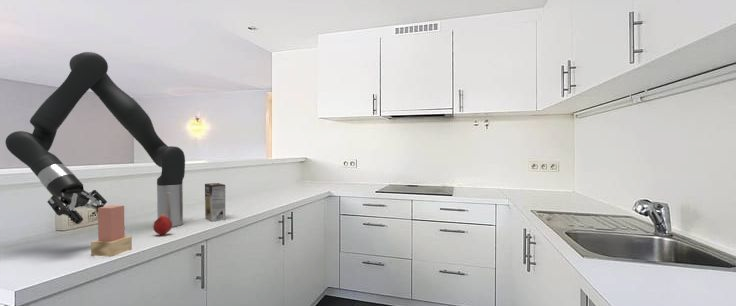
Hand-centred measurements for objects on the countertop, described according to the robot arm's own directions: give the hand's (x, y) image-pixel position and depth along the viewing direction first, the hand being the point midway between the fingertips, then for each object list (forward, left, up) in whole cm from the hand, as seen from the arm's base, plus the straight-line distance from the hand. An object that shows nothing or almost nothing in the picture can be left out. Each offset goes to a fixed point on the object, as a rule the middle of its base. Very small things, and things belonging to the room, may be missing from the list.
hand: (93, 219), depth 102 cm
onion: (-9, +20, -11) cm, 24 cm away
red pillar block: (+4, +4, -6) cm, 9 cm away
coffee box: (-26, +44, -11) cm, 52 cm away
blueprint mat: (0, +1, -10) cm, 11 cm away
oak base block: (+4, +4, -10) cm, 12 cm away
